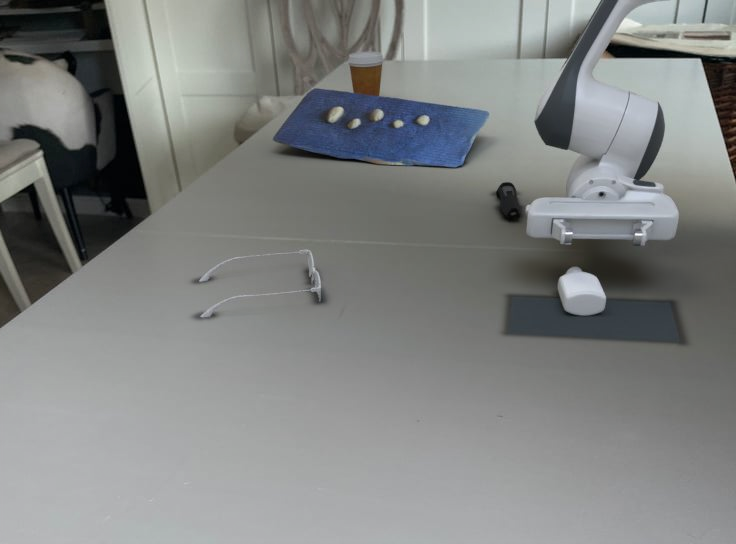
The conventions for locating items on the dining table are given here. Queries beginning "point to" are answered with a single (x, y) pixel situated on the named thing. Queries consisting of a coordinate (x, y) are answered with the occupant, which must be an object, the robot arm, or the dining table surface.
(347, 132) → the mat
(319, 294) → the eyeglasses
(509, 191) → the electric trimmer
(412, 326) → the dining table surface
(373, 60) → the disposable coffee cup
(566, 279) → the eye dropper bottle
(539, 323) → the mat
